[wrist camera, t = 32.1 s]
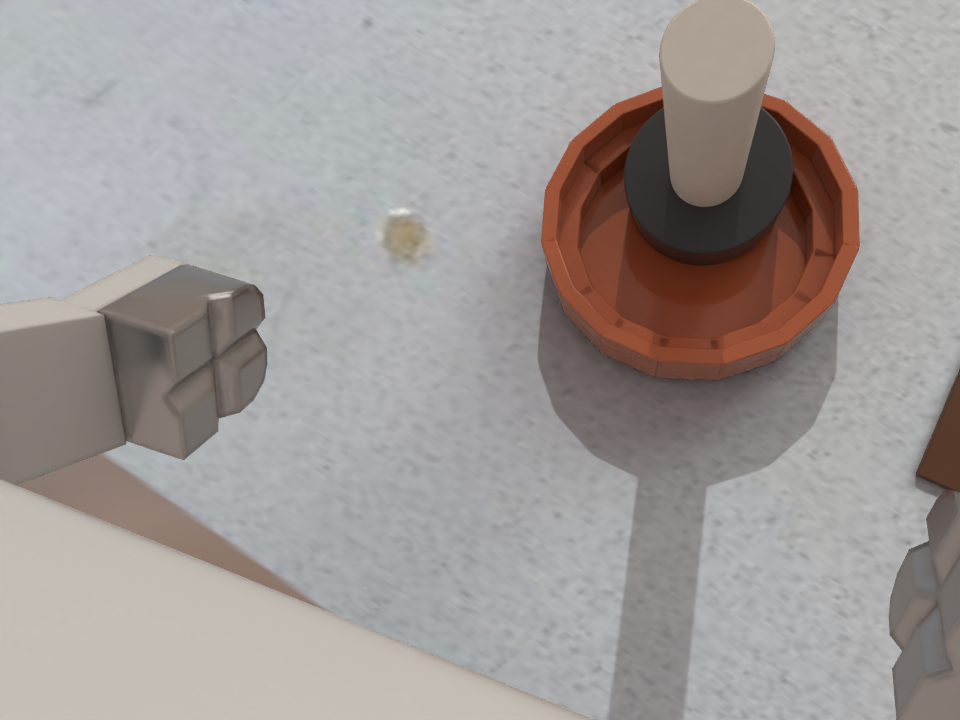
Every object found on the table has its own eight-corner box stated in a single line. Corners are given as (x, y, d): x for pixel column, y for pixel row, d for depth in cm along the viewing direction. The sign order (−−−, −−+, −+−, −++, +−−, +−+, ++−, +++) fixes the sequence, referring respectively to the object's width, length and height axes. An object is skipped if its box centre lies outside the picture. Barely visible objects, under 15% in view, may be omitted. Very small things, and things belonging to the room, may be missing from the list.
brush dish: (768, 432, 30) (782, 417, 28) (503, 313, 34) (491, 288, 31) (884, 179, 32) (908, 140, 29) (622, 89, 35) (621, 46, 33)
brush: (733, 292, 32) (766, 221, 18) (602, 223, 33) (542, 109, 20) (813, 158, 31) (909, -19, 18) (676, 94, 32) (667, -117, 19)
